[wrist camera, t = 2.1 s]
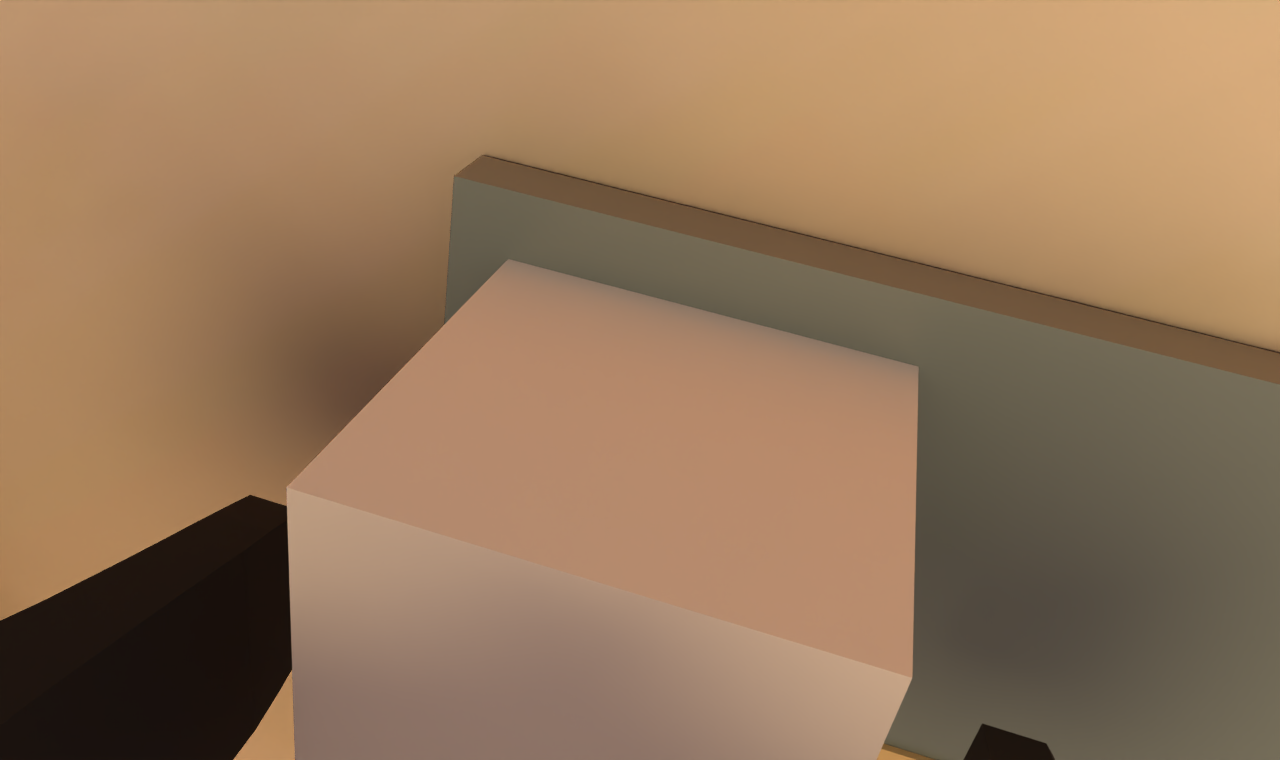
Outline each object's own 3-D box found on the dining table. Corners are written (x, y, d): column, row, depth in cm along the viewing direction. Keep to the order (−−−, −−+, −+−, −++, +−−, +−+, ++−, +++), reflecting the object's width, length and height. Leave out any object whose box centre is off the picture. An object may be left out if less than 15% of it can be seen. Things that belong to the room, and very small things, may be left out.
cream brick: (467, 659, 14) (301, 960, 11) (507, 258, 11) (286, 486, 7) (778, 758, 14) (719, 1115, 10) (918, 366, 10) (914, 678, 7)
